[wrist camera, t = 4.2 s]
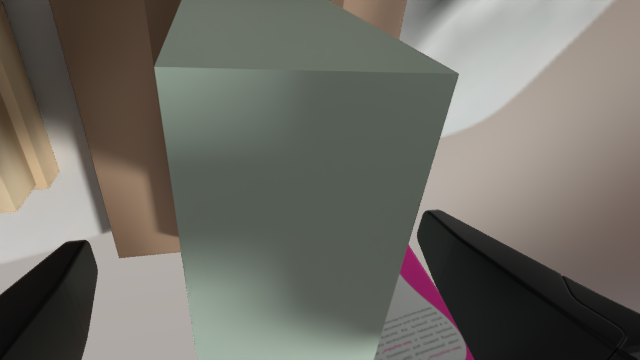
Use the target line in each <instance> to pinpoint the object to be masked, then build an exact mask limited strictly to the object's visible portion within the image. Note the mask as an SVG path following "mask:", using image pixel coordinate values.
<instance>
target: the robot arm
mask: <svg viewBox="0 0 640 360" xmlns="http://www.w3.org/2000/svg"><path fill="white" fill-rule="evenodd" d="M417 239H418V242H419V245H420V247H421V250H422V252H423V255H424V258H425V260H426V263H427V265H428V268H429V270H430V273H431V275H432V278H433V280H434V282H435V285H436V287H437V289H438V291H439V293H440V295H441V297H442V299H443V301H444V303H445V305H446V307H447V309H448V310H449V312H450V314H451V316H452V318H453V320H454V322H455V324H456V326H457V328H458V330H459V332H460V333H461V335H462V337H463V339H464V341H465V343H466V345H467V347H468V349H469V351H470V353H471V354H472V356H473V358H474V360H640V313H638V312H636V311H634V310H632V309H629V308H627V307H625V306H623V305H621V304H619V303H617V302H615V301H613V300H610V299H608V298H606V297H604V296H602V295H600V294H598V293H596V292H594V291H592V290H590V289H588V288H587V287H585V286H583V285H581V284H579V283H577V282H575V281H573V280H571V279H569V278H567V277H566V276H561V274H560V273H558V272H556V271H554V270H552V269H550V268H548V267H547V266H545V265H543V264H541V263H539V262H537V261H535V260H533V259H532V258H529V257H528V256H526V255H524V254H522V253H520V252H518V251H516V250H515V249H513V248H511V247H509V246H507V245H505V244H503V243H501V242H499V241H498V240H496V239H494V238H492V237H490V236H487V235H486V234H484V233H482V232H481V231H479V230H477V229H475V228H473V227H471V226H469V225H467V224H465V223H463V222H462V221H460V220H458V219H456V218H454V217H452V216H450V215H448V214H447V213H445V212H443V211H441V210H427V211H425V212H424V213H423V216H422V219H421V222H420V225H419V229H418V232H417ZM97 275H98V269H97V264H96V261H95V258H94V255H93V252H92V248H91V246H90V243H89V242H88V241H86V240H77V241H68V242H65V243H64V244H63V245H61V246H60V247H59V248H58V249H56V250H55V251H54V252H53V253H51V254H50V255H49V256H48V257H46V258H45V259H44V260H43V261H42V262H40V263H39V264H38V265H37V266H35V267H34V268H33V269H32V270H31V271H29V272H28V273H27V274H25V275H24V276H23V277H22V278H20V279H19V280H18V281H17V282H15V283H14V284H13V285H12V286H11V287H9V288H8V289H7V290H6V291H4V292H3V293H2V294H1V295H0V360H81V359H82V356H83V352H84V349H85V345H86V341H87V337H88V331H89V326H90V320H91V313H92V307H93V301H94V294H95V288H96V282H97Z"/></svg>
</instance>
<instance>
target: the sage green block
mask: <svg viewBox="0 0 640 360" xmlns="http://www.w3.org/2000/svg"><path fill="white" fill-rule="evenodd" d="M154 69H155V76H156V83H157V90H158V97H159V104H160V110H161V117H162V124H163V131H164V138H165V145H166V152H167V158H168V165H169V172H170V179H171V186H172V193H173V199H174V206H175V213H176V220H177V227H178V234H179V241H180V247H181V254H182V261H183V268H184V275H185V282H186V289H187V295H188V302H189V309H190V316H191V323H192V330H193V336H194V342H195V350H196V357H197V360H374V357H375V354H376V351H377V347H378V344H379V341H380V337H381V334H382V331H383V327H384V324H385V321H386V317H387V314H388V310H389V307H390V304H391V300H392V297H393V294H394V290H395V287H396V284H397V280H398V277H399V273H400V270H401V267H402V263H403V260H404V257H405V253H406V250H407V247H408V243H409V240H410V236H411V233H412V230H413V226H414V223H415V220H416V216H417V213H418V210H419V206H420V202H421V200H422V196H423V193H424V189H425V186H426V183H427V179H428V176H429V173H430V169H431V165H432V162H433V159H434V156H435V152H436V149H437V146H438V142H439V139H440V136H441V132H442V129H443V126H444V122H445V119H446V116H447V112H448V109H449V105H450V102H451V99H452V95H453V92H454V89H455V85H456V82H457V79H458V75H459V74H458V73H457V72H455V71H453V70H451V69H450V68H448V67H446V66H444V65H442V64H441V63H439V62H437V61H435V60H434V59H432V58H430V57H428V56H426V55H425V54H423V53H421V52H419V51H418V50H416V49H414V48H412V47H410V46H409V45H407V44H405V43H403V42H402V41H400V40H398V39H396V38H394V37H393V36H391V35H389V34H387V33H386V32H384V31H382V30H380V29H378V28H377V27H375V26H373V25H371V24H370V23H368V22H366V21H364V20H362V19H361V18H359V17H357V16H355V15H354V14H352V13H350V12H348V11H346V10H345V9H343V8H341V7H339V6H338V5H336V4H334V3H332V2H330V1H329V0H181V3H180V5H179V8H178V10H177V12H176V15H175V17H174V20H173V22H172V25H171V27H170V29H169V32H168V34H167V37H166V39H165V42H164V44H163V47H162V49H161V51H160V54H159V56H158V59H157V61H156V64H155V66H154Z"/></svg>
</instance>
